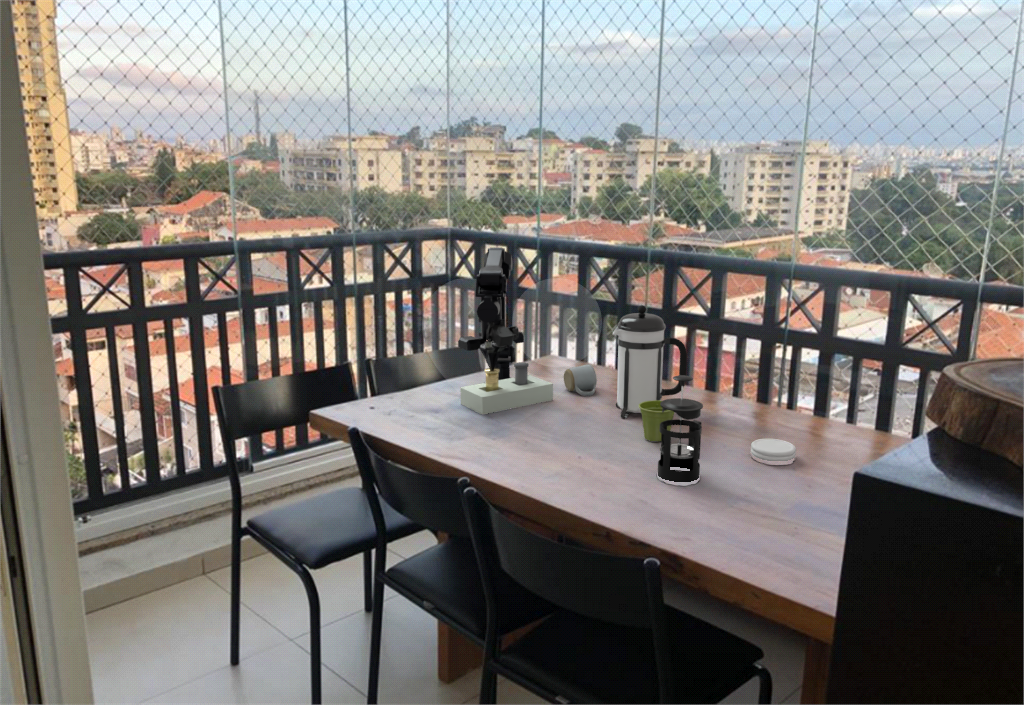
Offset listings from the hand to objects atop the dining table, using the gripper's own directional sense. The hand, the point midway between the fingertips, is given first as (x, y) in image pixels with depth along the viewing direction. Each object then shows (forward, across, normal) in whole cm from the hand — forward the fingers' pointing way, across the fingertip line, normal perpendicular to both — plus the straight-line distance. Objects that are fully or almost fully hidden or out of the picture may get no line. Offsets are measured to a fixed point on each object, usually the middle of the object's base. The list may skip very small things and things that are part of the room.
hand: (492, 369), depth 223 cm
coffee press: (+11, +31, -29) cm, 44 cm away
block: (+10, +5, 0) cm, 12 cm away
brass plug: (+8, 0, 0) cm, 8 cm away
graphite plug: (+8, +10, 0) cm, 13 cm away
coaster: (+11, +32, -72) cm, 80 cm away
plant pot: (+11, +19, -47) cm, 52 cm away
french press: (+11, +6, -68) cm, 69 cm away
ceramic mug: (+11, +30, -4) cm, 32 cm away
